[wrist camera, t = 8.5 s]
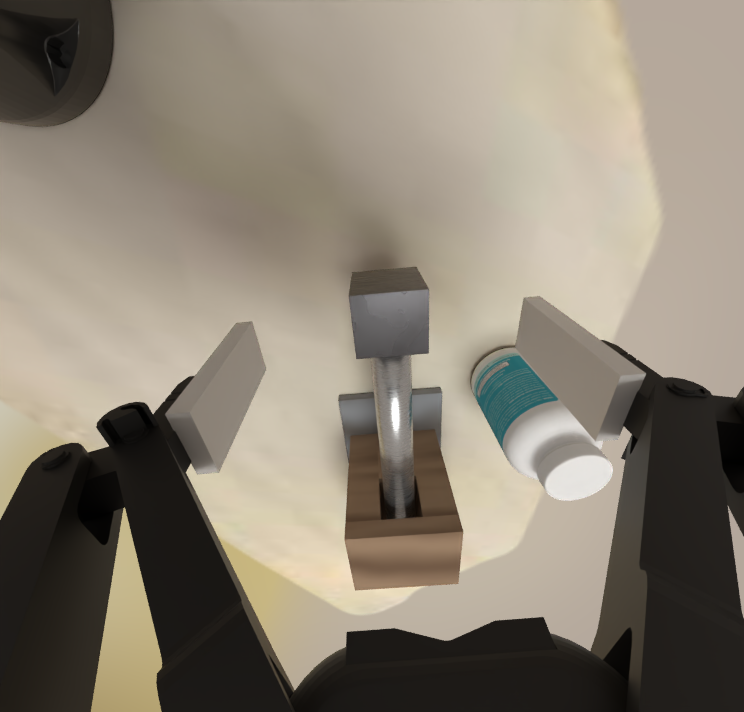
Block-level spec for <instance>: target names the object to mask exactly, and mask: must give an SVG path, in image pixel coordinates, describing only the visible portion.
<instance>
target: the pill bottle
mask: <svg viewBox="0 0 744 712" xmlns="http://www.w3.org/2000/svg"><path fill="white" fill-rule="evenodd" d="M471 387H472V391H473V394H474V396H475V398H476V400H477V402H478V404H479V406H480V408H481V410H482V411H483V413H484V415H485V417H486V419H487V421H488V423H489V425H490V427H491V429H492V431H493V433H494V434H495V436H496V438H497V440H498V442H499V444H500V446H501V448H502V450H503V452H504V454H505V456H506V458H507V459H508V461H509V463H510V464H511V465H512V467H513V468H514V469H515V470H517V471H518V472H519V473H521V474H522V475H524V476H527V477H529V478H532V479H536V480H539V481H540V483H541V484H542V486H543V487H544V489H545V491H546V492H547V493H548V494H549V495H550V496H552V497H553V498H555V499H558V500H565V501H568V500H577V499H582V498H585V497H588V496H590V495H592V494H594V493H596V492H598V491H599V490H600V489H602V488H603V487H604V486H605V485H606V484H607V483H608V481H609V480H610V479H611V476H612V473H613V468H612V465H611V463H610V461H609V460H608V459H607V458H606V456H605V455H604V454H603V453H602V451H601V448H602V444H603V441H596V442H595V440H594V439H593V438H592V437H591V436H590V435H589V433H588V432H587V431H586V430H585V429H584V428H583V426H582V425H581V424H580V423H579V422H578V421H577V419H576V418H575V417H574V416H573V415H572V414H571V412H570V411H569V410H568V409H567V408H566V407H565V405H564V404H563V403H562V402H561V401H560V399H559V398H558V397H557V396H556V395H555V394H554V392H553V391H552V390H551V389H550V388H549V387H548V385H547V384H546V383H545V382H544V381H543V380H542V378H541V377H540V376H539V375H538V374H537V373H536V371H535V370H534V369H533V368H532V367H531V366H530V364H529V363H528V362H527V361H526V360H525V359H524V357H523V356H522V355H521V354H520V353H519V352H518V350H517V349H516V348H504V349H501V350H498V351H495V352H493V353H491V354H489V355H488V356H486V357H485V358H484V359H483V360H482V361H481V362H480V363H479V364H478V366H477V367H476V369H475V370H474V372H473V375H472V380H471Z"/></svg>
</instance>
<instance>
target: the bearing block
mask: <svg viewBox="0 0 744 712" xmlns="http://www.w3.org/2000/svg"><path fill="white" fill-rule="evenodd" d="M339 406H340V413H341V419H342V425H343V431H344V437H345V443H346V449H347V455H348V461H349V471H348V488H347V506H346V524H345V544H346V549H347V554H348V558H349V563H350V568H351V573H352V578H353V582H354V587H355V590H368V589H384V588H399V587H415V586H431V585H447V584H458V581H459V571H460V560H461V550H462V539H463V529H462V526H461V522H460V518H459V515H458V511H457V507H456V504H455V500H454V497H453V493H452V489H451V486H450V482H449V479H448V475H447V471H446V468H445V464H444V460H443V457H442V453H441V450H440V447H441V415H442V391H441V388H427V389H414V390H412V416H413V455H414V495H415V518H401V519H386V511H385V501H384V491H383V480H382V470H381V459H380V449H379V438H378V428H377V417H376V407H375V396H374V393H363V394H350V395H339Z"/></svg>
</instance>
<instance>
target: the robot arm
mask: <svg viewBox="0 0 744 712" xmlns="http://www.w3.org/2000/svg"><path fill="white" fill-rule="evenodd" d="M111 52H112V17H111V8H110V2H109V0H0V122H6V123H12V124H19V125H26V126H51V125H57V124H61V123H64V122H67V121H69V120H71V119H73V118H75V117H77V116H78V115H80V114H81V113H82V112H84V111H85V110H86V109H87V108H88V107H89V106H90V105H91V104H92V103H93V101H94V100H95V99H96V97H97V96H98V94H99V92H100V90H101V88H102V86H103V84H104V82H105V79H106V76H107V73H108V69H109V65H110V59H111ZM515 348H516V349H517V350H518V352H519V353H520V354H521V355H522V356H523V357H524V359H525V360H526V361H527V362H528V363H529V364H530V366H531V367H532V368H533V369H534V370H535V371H536V373H537V374H538V375H539V376H540V377H541V378H542V380H543V381H544V382H545V383H546V384H547V385H548V387H549V388H550V389H551V390H552V391H553V392H554V394H555V395H556V396H557V397H558V398H559V399H560V401H561V402H562V403H563V404H564V405H565V407H566V408H567V409H568V410H569V411H570V412H571V414H572V415H573V416H574V417H575V418H576V419H577V421H578V422H579V423H580V424H581V425H582V426H583V428H584V429H585V430H586V431H587V432H588V433H589V435H590V436H591V437H592V438H593V439H594V440H595V442H596V441H608V440H618V438H619V436H620V433H621V431H622V428H623V426H624V427H626V429H627V430H628V431H629V432H630V433H631V434H632V436H631V438H630V440H629V442H628V444H627V446H626V449H625V451H624V453H623V455H622V457H621V458H622V459H624V460H625V459H626V460H625V466H624V472H623V479H622V485H621V491H620V498H619V503H618V509H617V516H616V522H615V528H614V534H613V540H612V546H611V552H610V558H609V565H608V571H607V577H606V583H605V589H604V596H603V602H602V608H601V615H600V620H599V625H598V630H597V634H596V637H595V639H594V642H593V645H592V648H591V651H588V650H587V649H586V648H584V647H582V646H580V645H578V644H576V643H574V642H572V641H570V640H568V639H565V638H562V637H560V636H557V635H554V634H550V632H549V630H548V627H547V625H546V622H545V620H544V618H543V617H539V618H527V619H526V618H525V619H512V620H499V621H493V622H491V623H489V624H487V625H484V626H483V627H480V628H478V629H475V630H473V631H471V632H469V633H466V634H464V635H462V636H460V637H458V638H455V639H453V640H450V641H443V640H439V639H435V638H431V637H427V636H423V635H419V634H415V633H411V632H407V631H403V630H399V629H395V628H393V629H380V630H368V631H353V632H347V642H346V647H345V648H343V649H341V650H339V651H337V652H335V653H334V654H332V655H330V656H329V657H327V658H326V659H324V660H323V661H322V662H321V663H320V664H318V665H317V666H316V667H315V668H314V669H313V670H312V671H311V672H310V673H309V674H308V675H307V676H306V677H305V678H304V680H303V681H302V682H301V683H300V685H299V686H298V687H297V689H296V690H294V688H293V686H292V685H291V683H290V681H289V679H288V677H287V675H286V673H285V671H284V669H283V667H282V665H281V663H280V662H279V660H278V658H277V656H276V654H275V652H274V650H273V648H272V646H271V644H270V642H269V640H268V638H267V636H266V634H265V632H264V630H263V628H262V626H261V624H260V622H259V620H258V618H257V616H256V614H255V612H254V610H253V608H252V606H251V603H250V602H249V600H248V597H247V595H246V594H245V592H244V589H243V587H242V585H241V583H240V581H239V579H238V577H237V575H236V573H235V571H234V569H233V567H232V565H231V563H230V561H229V559H228V557H227V555H226V553H225V551H224V549H223V547H222V545H221V543H220V541H219V539H218V537H217V535H216V533H215V530H214V528H213V526H212V524H211V522H210V520H209V518H208V516H207V514H206V512H205V510H204V508H203V506H202V504H201V502H200V500H199V498H198V496H197V494H196V492H195V490H194V488H193V486H192V484H191V482H190V480H189V478H188V476H187V474H186V471H187V469H188V467H189V466H190V464H192V466H193V467H194V469H195V471H196V473H197V474H207V473H219V471H220V469H221V467H222V465H223V462H224V460H225V458H226V456H227V454H228V452H229V449H230V447H231V445H232V443H233V441H234V438H235V436H236V434H237V432H238V430H239V428H240V425H241V423H242V421H243V419H244V417H245V414H246V412H247V410H248V408H249V406H250V404H251V401H252V399H253V397H254V395H255V393H256V390H257V388H258V386H259V384H260V382H261V380H262V377H263V375H264V373H265V371H266V366H265V363H264V360H263V356H262V353H261V350H260V346H259V343H258V340H257V336H256V333H255V330H254V326H253V323H252V322H242V323H236V324H235V325H234V327H233V328H232V329H231V331H230V332H229V333H228V334H227V336H226V337H225V338H224V339H223V341H222V342H221V343H220V345H219V346H218V347H217V348H216V350H215V351H214V352H213V354H212V355H211V356H210V357H209V359H208V360H207V361H206V362H205V364H204V365H203V366H202V368H201V369H200V370H199V371H198V373H197V374H196V375H195V376H190V377H188V378H186V379H185V380H184V381H182V382H181V383H179V384H178V385H177V386H176V388H175V389H174V390H173V391H172V392H171V394H170V395H169V396H168V397H167V398H166V400H165V402H163V403H162V404H161V406H160V407H159V408H158V409H157V410H156V412H155V413H154V414H152V412H151V411H150V409H149V407H148V405H146V404H145V403H143V402H134V403H128V404H125V405H122V406H119V407H117V408H115V409H113V410H111V411H110V412H108V413H107V414H105V415H104V416H103V417H102V418H101V419H100V420H99V421H98V422H97V427H96V428H97V429H98V430H99V432H100V433H101V435H102V436H103V438H104V439H105V440H106V442H107V443H108V445H109V447H106V448H102V449H99V450H95V451H92V452H89V453H88V452H87V451H86V450H85V448H84V447H83V446H82V445H81V444H79V443H69V444H65V445H61V446H59V447H56V448H53V449H51V450H49V451H47V452H45V453H43V454H42V455H40V457H38V458H37V459H36V460H35V461H33V462H32V463H31V465H30V466H29V467H28V468H27V470H26V472H25V474H24V475H23V477H22V479H21V481H20V483H19V485H18V487H17V489H16V491H15V493H14V495H13V497H12V499H11V500H10V502H9V505H8V506H7V508H6V510H5V512H4V514H3V516H2V518H1V520H0V712H91V706H92V700H93V693H94V687H95V681H96V674H97V669H98V662H99V656H100V650H101V643H102V637H103V631H104V625H105V619H106V613H107V606H108V599H109V594H110V588H111V582H112V575H113V569H114V563H115V556H116V550H117V544H118V538H119V532H120V525H121V519H122V513H123V508H124V507H125V509H126V513H127V517H128V521H129V525H130V529H131V534H132V538H133V542H134V546H135V550H136V554H137V558H138V562H139V566H140V571H141V574H142V578H143V583H144V586H145V591H146V595H147V599H148V603H149V607H150V611H151V616H152V620H153V624H154V628H155V632H156V636H157V640H158V644H159V648H160V653H161V657H162V668H161V670H160V671H159V672H158V673H157V682H156V683H157V690H158V696H159V701H160V706H161V711H162V712H744V618H743V615H742V611H741V603H740V595H739V588H738V582H737V573H736V565H735V558H734V550H733V543H732V535H731V528H730V521H729V513H728V506H729V508H730V510H731V512H732V514H733V516H734V518H735V520H736V522H737V524H738V526H739V528H740V530H741V532H742V534H743V536H744V387H743V388H742V389H741V391H740V392H739V394H738V395H737V397H736V398H733V397H723V396H713V395H711V393H710V391H708V390H707V389H706V388H704V387H703V386H700V385H698V384H696V383H694V382H691V381H687V380H685V379H679V378H673V377H669V378H663V377H661V376H660V375H659V374H657V373H656V372H654V371H653V370H652V369H650V368H649V367H647V366H646V365H644V364H643V363H642V362H640V361H639V360H636V358H634V357H633V356H632V355H630V354H628V353H627V352H626V351H624V350H623V349H622V348H620V347H619V346H617V345H615V344H612V343H610V342H607V341H605V340H599V339H598V338H597V337H595V336H594V335H593V334H591V333H590V332H588V331H587V330H586V329H584V328H583V327H581V326H580V325H579V324H577V323H576V322H575V321H573V320H572V319H570V318H569V317H568V316H566V315H565V314H564V313H562V312H561V311H559V310H558V309H557V308H555V307H554V306H553V305H551V304H550V303H548V302H547V301H546V300H544V299H543V298H542V297H540V296H537V297H525V298H524V299H523V305H522V311H521V317H520V322H519V328H518V334H517V340H516V346H515Z"/></svg>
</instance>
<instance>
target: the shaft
mask: <svg viewBox="0 0 744 712" xmlns="http://www.w3.org/2000/svg"><path fill="white" fill-rule="evenodd" d="M349 302H350V310H351V318H352V326H353V335H354V343H355V351H356V359H364V358H371V365H372V376H373V386H374V396H375V407H376V417H377V428H378V438H379V449H380V459H381V470H382V480H383V491H384V501H385V511H386V519H401V518H415V495H414V455H413V416H412V376H411V355H414V354H427V353H429V288H428V287H427V285H426V283H425V281H424V280H423V278H422V276H421V274H420V273H419V271H418V269H417V267H410V268H398V269H387V270H375V271H364V272H352V277H351V284H350V291H349Z"/></svg>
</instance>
